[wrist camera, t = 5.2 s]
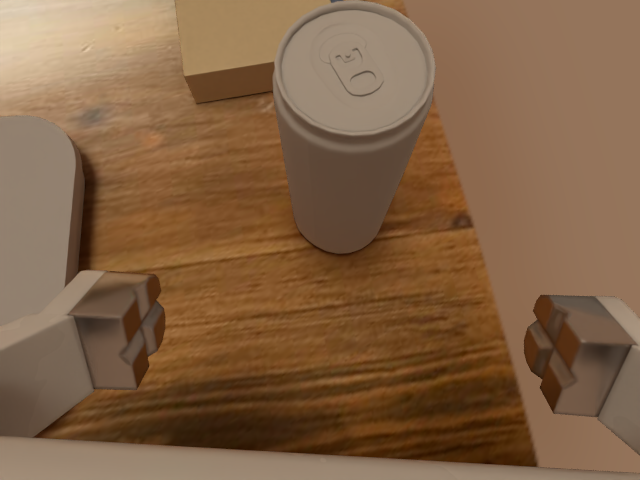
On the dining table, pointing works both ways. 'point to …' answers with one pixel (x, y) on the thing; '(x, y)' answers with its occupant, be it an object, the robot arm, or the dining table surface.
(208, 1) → the closed book
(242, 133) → the dining table surface
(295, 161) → the beverage can
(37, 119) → the grey flat rounded rectangle
